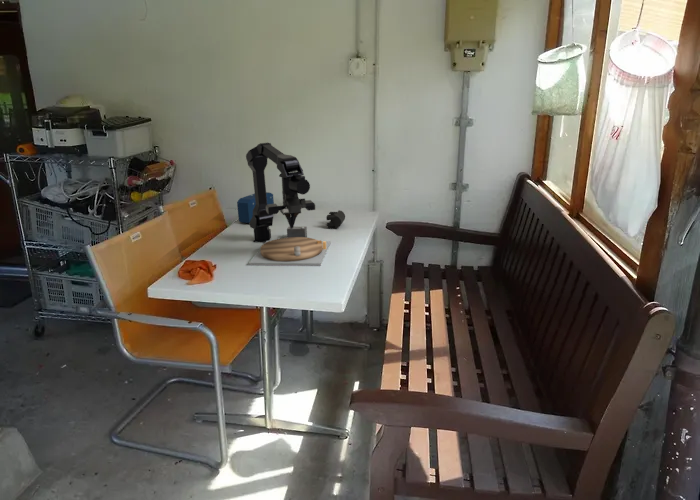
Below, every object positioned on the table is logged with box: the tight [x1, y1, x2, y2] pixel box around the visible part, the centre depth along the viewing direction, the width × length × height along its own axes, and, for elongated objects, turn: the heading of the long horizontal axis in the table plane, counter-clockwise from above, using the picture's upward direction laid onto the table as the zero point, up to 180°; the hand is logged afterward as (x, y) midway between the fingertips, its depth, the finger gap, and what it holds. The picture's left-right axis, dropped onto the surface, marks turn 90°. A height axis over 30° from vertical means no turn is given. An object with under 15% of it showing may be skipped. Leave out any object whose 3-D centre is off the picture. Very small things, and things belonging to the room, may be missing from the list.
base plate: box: [248, 240, 332, 267], centre depth 220 cm, size 28×28×4 cm
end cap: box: [325, 209, 346, 230], centre depth 256 cm, size 10×7×7 cm
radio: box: [236, 191, 275, 225], centre depth 271 cm, size 21×9×20 cm, turn 152°
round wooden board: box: [259, 237, 323, 261], centre depth 220 cm, size 25×25×5 cm
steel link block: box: [286, 226, 308, 238], centre depth 240 cm, size 8×4×5 cm, turn 84°
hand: (291, 228), depth 216 cm, fingers closed
